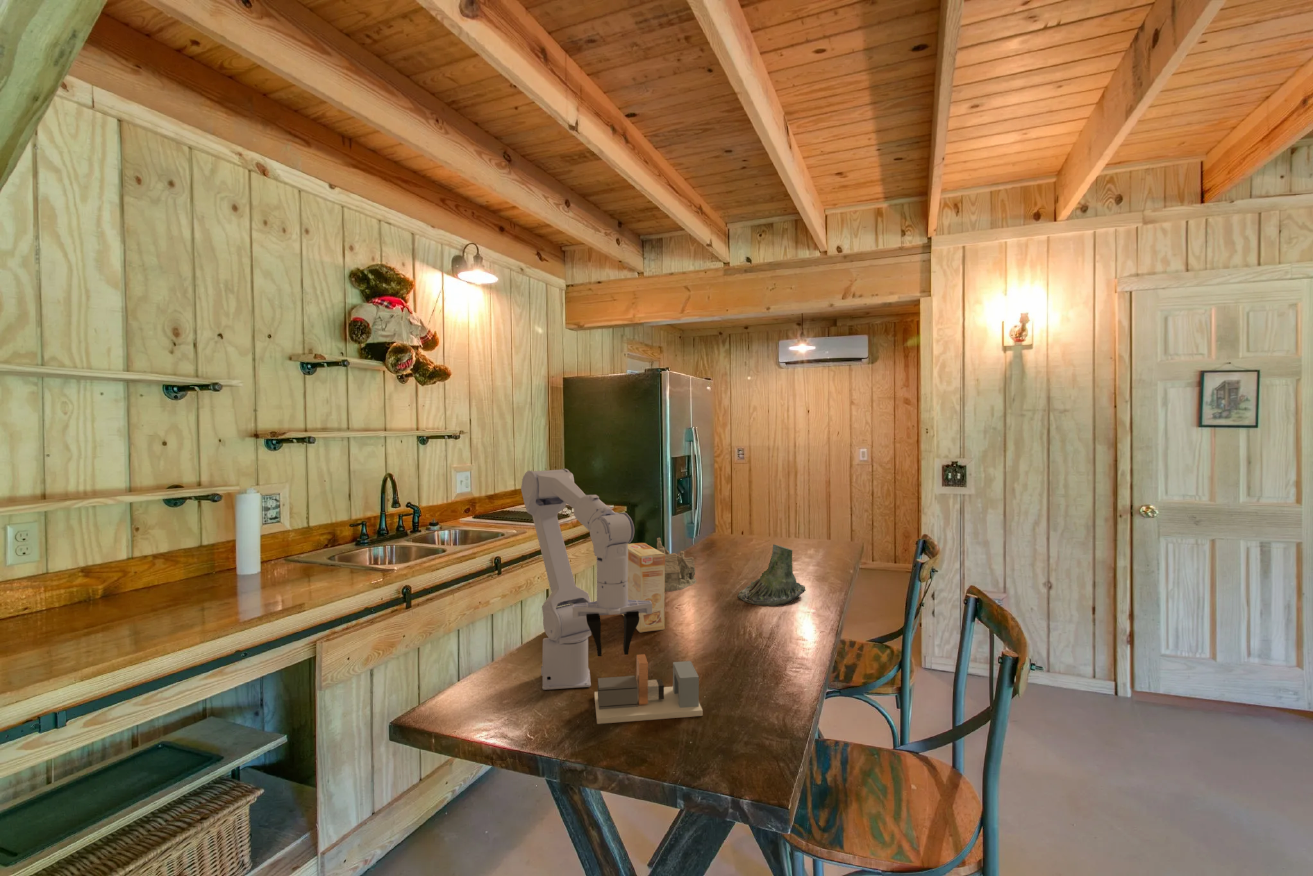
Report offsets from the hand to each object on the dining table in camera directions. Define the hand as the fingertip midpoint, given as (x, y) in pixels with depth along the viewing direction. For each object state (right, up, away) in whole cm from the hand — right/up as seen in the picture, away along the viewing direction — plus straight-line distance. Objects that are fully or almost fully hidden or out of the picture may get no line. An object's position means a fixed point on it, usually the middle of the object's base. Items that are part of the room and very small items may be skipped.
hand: (612, 653), depth 107 cm
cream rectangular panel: (+6, -10, +1) cm, 12 cm away
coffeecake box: (+4, -9, +47) cm, 48 cm away
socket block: (+13, -9, +3) cm, 17 cm away
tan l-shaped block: (+4, -9, +1) cm, 10 cm away
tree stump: (+43, -9, +70) cm, 82 cm away
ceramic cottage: (+14, -8, +83) cm, 84 cm away
